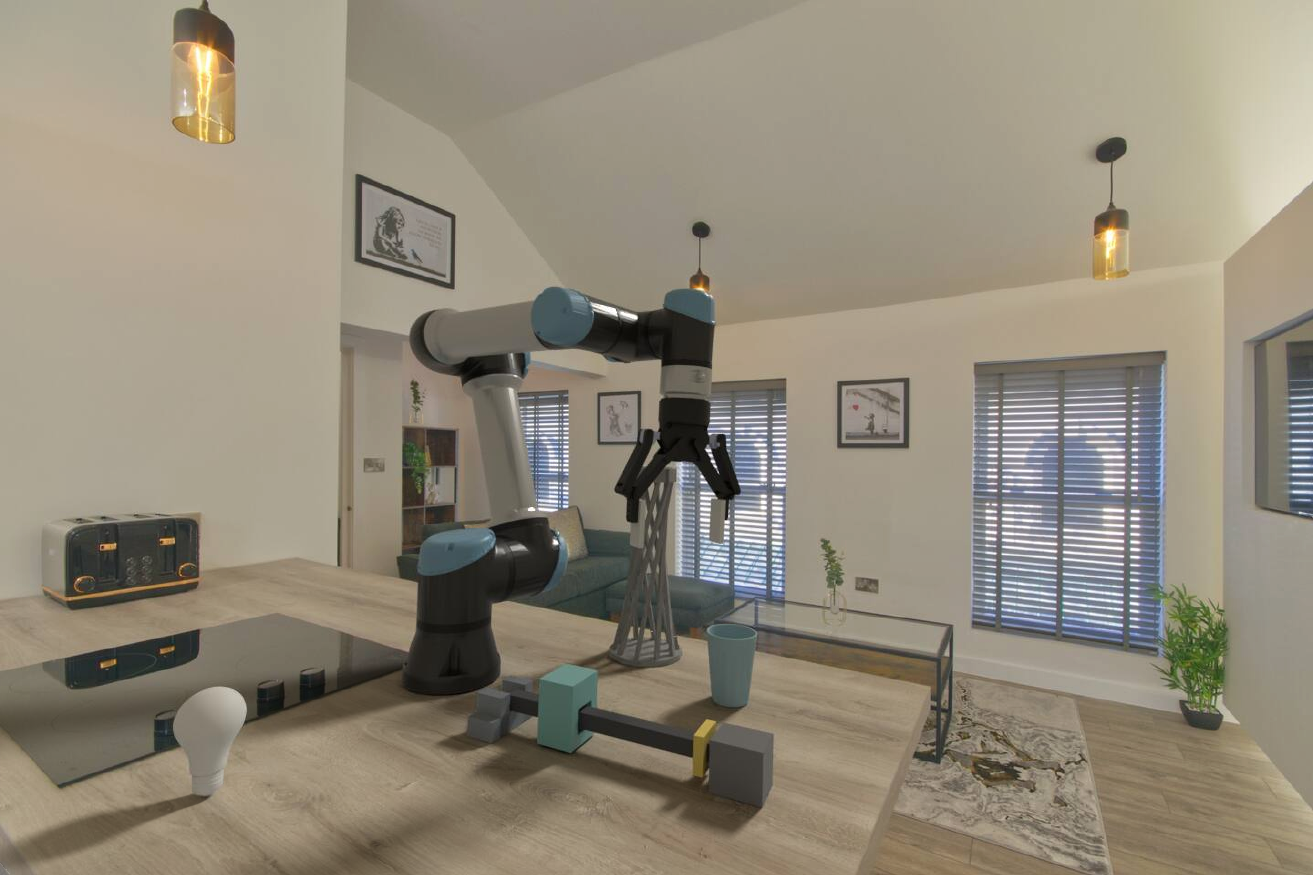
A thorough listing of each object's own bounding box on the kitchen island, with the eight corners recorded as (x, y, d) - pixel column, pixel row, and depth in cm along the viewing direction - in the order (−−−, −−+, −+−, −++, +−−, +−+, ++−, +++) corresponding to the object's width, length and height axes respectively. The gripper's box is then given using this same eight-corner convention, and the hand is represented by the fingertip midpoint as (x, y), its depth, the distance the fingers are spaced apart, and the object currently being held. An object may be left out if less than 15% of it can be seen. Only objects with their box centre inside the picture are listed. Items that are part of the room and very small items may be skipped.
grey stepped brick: (467, 736, 74) (468, 696, 74) (516, 706, 83) (517, 671, 83) (491, 743, 72) (493, 703, 72) (539, 711, 81) (540, 676, 82)
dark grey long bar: (500, 722, 75) (501, 688, 75) (521, 708, 79) (522, 676, 79) (753, 791, 61) (754, 749, 61) (763, 771, 65) (764, 732, 65)
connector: (708, 792, 63) (709, 739, 63) (721, 771, 67) (723, 722, 68) (762, 807, 61) (763, 753, 61) (772, 784, 65) (773, 733, 65)
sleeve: (537, 743, 72) (539, 678, 72) (563, 723, 77) (565, 663, 78) (570, 752, 70) (573, 686, 70) (595, 731, 75) (597, 670, 75)
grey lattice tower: (666, 639, 115) (671, 465, 116) (693, 662, 103) (699, 467, 104) (600, 645, 110) (606, 463, 111) (621, 670, 98) (627, 465, 99)
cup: (766, 706, 85) (767, 635, 86) (721, 714, 82) (722, 641, 83) (738, 687, 92) (739, 621, 93) (696, 694, 89) (698, 626, 90)
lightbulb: (196, 778, 63) (202, 677, 63) (255, 777, 63) (260, 677, 64) (152, 813, 57) (159, 701, 57) (218, 812, 57) (223, 701, 58)
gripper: (619, 388, 74) (611, 553, 74) (768, 404, 86) (761, 545, 86) (596, 392, 80) (588, 543, 80) (737, 405, 93) (731, 536, 92)
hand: (678, 544), depth 83 cm, fingers open, 13 cm apart
